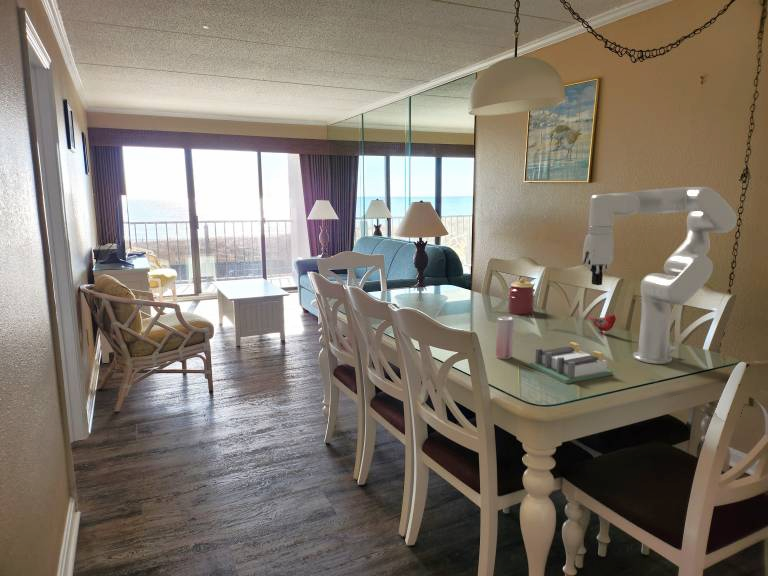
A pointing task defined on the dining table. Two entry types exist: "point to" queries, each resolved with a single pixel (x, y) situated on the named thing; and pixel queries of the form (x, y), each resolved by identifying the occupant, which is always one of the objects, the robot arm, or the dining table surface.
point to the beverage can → (504, 337)
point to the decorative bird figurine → (604, 323)
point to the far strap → (558, 350)
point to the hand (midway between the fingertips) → (596, 284)
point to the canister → (521, 298)
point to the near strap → (581, 360)
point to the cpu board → (570, 365)
